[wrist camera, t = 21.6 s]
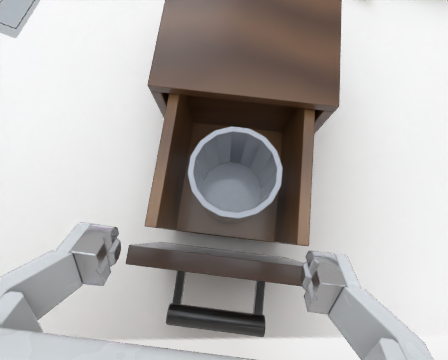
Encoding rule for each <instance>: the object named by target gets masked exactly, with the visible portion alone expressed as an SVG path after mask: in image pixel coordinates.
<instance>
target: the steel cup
mask: <svg viewBox="0 0 448 360" xmlns="http://www.w3.org/2000/svg"><path fill="white" fill-rule="evenodd" d="M282 171H283V168H282V164H281V161H280V158H279V155H278V152H277V150H276V149H275V148H274V147H273V145H272V144H271V143H270V142H269V141H268V139H267V138H266V137H264V136H263V135H261V134H259V133H257V132H255V131H253V130H251V129H249V128H241V127H233V126H232V127H227V128H223V129H219V130H215V131H213V132H212V133H211V134H209V135H208V136H206V137H205V138H203V139H202V140H201V141H200V142H199V143H198V145H197V146H196V148H195V150H194V151H193V153H192V154H191V156H190V161H189V167H188V178H189V182H190V186H191V190H192V192H193V194H194V195H195V197H196V198H197V200H198V201H199V203H200V204H201V206H202V207H203V209H204V210H205V211H206V213H207V214H208V215H209V216H210V217H212V218H213V219H215V220H217V221H219V222H221V223H226V224H237V223H241V222H245V221H247V220H249V219H250V218H252V217H253V216H255V215H256V214H258V213H259V212H261V211H262V210H263V209H264V208H266V207H267V206H268V205H269V204H271V203H272V202H273V200H274V198H275V196H276V195H277V193H278V191H279V189H280V187H281V182H282Z"/></svg>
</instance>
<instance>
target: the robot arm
mask: <svg viewBox="0 0 448 360" xmlns="http://www.w3.org/2000/svg"><path fill="white" fill-rule="evenodd" d="M118 234H119V232H118V228H116V227H112V226H105V225H98V224H90V223H83V222H81V223H79V224H77V225H76V227H75V228H74V229H73V230H72V231H71V233H70V234H69V235H68V236H67V237H66V239H65V240H64V241H63V242H62V243H61V245H60V246H59V247H58V248H57V249H56V251H50V252H48V253H46V254H44V255H42V256H40V257H38V258H36V259H34V260H32V261H30V262H28V263H26V264H24V265H22V266H20V267H18V268H16V269H14V270H13V271H11V272H9V273H7V274H5V275H3V276H1V277H0V360H254V359H246V358H238V357H231V356H223V355H214V354H207V353H199V352H191V351H183V350H176V349H175V350H174V349H168V348H160V347H152V346H144V345H135V344H128V343H120V342H112V341H104V340H96V339H89V338H81V337H73V336H65V335H57V334H49V333H43V329H42V328H41V326H40V324H39V322H38V320H39V319H40V318H41V317H42V316H44V315H45V314H46V313H48V312H49V311H50V310H51V309H53V308H54V307H55V306H56V305H58V304H59V303H60V302H62V301H63V300H64V299H65V298H67V297H68V296H69V295H71V294H72V293H73V292H74V291H76V290H77V289H78V288H80V287H81V286H82V284H89V285H99V286H104V284H105V282H106V280H107V278H108V277H109V275H110V273H111V270H110V267H111V266H112V265H114V264H115V263H116V262H117V260H118V258H119V254H120V251H121V243H120V241H119V240H118V239H117V236H118ZM306 260H307V262H305V263H303V265H302V268H301V274H300V277H301V285H302V287H303V288H304V289H305V290H306V292H305V295H304V299H305V303H306V308H307V311H308V312H315V313H321V314H328V316H329V318H330V319H331V320H332V322H333V323H334V324H335V326H336V327H337V328H338V330H339V331H340V332H341V334H342V335H343V336H344V338H345V339H346V340H347V342H348V343H349V344H350V346H351V347H352V348H353V350H354V351H355V352H356V354H357V355H358V356H359V358H360V359H361V360H434V359H433V358H432V356H431V354H430V352H429V350H428V349H427V347H426V345H425V343H424V342H423V341H422V340H421V339H420V338H419V337H418V336H417V335H415V334H414V333H413V332H412V331H411V330H410V329H409V328H408V327H407V326H405V325H404V324H403V323H402V322H401V321H400V320H399V319H398V318H397V317H396V316H394V315H393V314H392V313H391V312H390V311H389V310H388V309H387V308H386V307H384V306H383V305H382V304H381V303H380V302H379V301H378V300H377V299H376V298H374V297H373V296H372V295H371V294H370V293H369V292H368V291H367V290H365V289H362V288H361V286H360V284H359V281H358V279H357V277H356V275H355V272H354V270H353V268H352V266H351V263H350V261H349V259H348V257H347V256H346V255H344V254H335V253H326V252H317V251H308V252H307V255H306Z"/></svg>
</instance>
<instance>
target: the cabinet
mask: <svg viewBox="0 0 448 360" xmlns="http://www.w3.org/2000/svg"><path fill="white" fill-rule="evenodd" d="M341 2H342V0H165V3H164V8H163V13H162V18H161V23H160V28H159V32H158V37H157V42H156V47H155V52H154V56H153V61H152V66H151V71H150V76H149V80H148V87H149V89H150V91H151V93H152V95H153V97H154V99H155V101H156V103H157V105H158V107H159V109H160V111H161V113H162V115H163V117H164V118H165V113H166V108H167V102H168V97H169V93H172V94H181V95H190V96H199V97H208V98H217V99H226V100H235V101H244V102H253V103H262V104H271V105H280V106H288V107H297V108H306V109H315V121H314V134H315V133H316V131H317V130H318V129H319V128H320V127H321V126H322V125H323V124H324V123H325V121H326V120H327V119H328V118H329V117H330V116H331V115H332V114H333V112H334V111H335V110H336V109H337V108H338V107H339V89H340V46H341Z"/></svg>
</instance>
